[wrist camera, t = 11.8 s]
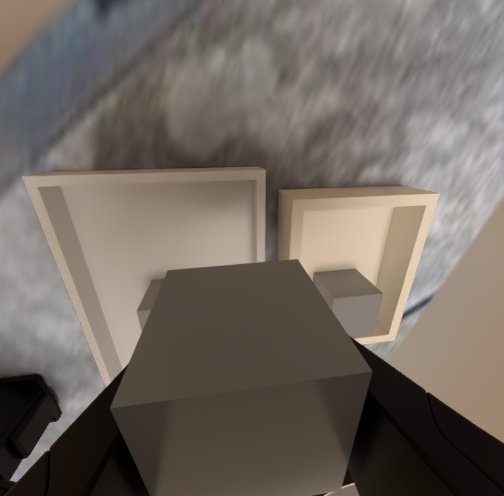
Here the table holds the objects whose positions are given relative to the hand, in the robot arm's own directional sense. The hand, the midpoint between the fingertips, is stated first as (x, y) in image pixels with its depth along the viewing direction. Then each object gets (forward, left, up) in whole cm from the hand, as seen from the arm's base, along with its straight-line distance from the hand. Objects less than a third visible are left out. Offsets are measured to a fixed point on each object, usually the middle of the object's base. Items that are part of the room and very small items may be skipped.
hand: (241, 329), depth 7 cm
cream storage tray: (+9, -5, -13) cm, 16 cm away
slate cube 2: (0, 0, -1) cm, 1 cm away
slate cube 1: (+10, -7, -12) cm, 17 cm away
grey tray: (-5, -7, -13) cm, 15 cm away
